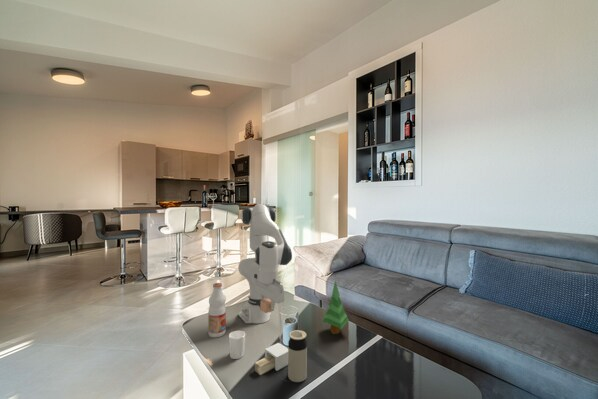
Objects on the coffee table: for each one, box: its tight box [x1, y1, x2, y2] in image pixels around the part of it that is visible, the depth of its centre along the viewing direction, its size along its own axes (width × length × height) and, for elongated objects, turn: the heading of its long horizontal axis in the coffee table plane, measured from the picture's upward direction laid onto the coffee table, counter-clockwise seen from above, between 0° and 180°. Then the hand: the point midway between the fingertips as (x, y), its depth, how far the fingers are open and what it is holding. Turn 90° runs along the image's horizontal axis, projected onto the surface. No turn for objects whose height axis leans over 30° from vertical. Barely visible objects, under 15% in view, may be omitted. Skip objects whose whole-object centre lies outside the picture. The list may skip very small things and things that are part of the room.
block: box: [260, 298, 275, 313], centre depth 121 cm, size 4×4×4 cm
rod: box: [254, 346, 288, 376], centre depth 119 cm, size 4×18×4 cm, turn 134°
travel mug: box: [287, 329, 308, 383], centre depth 111 cm, size 8×8×18 cm
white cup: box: [228, 330, 246, 360], centre depth 126 cm, size 8×8×10 cm
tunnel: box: [264, 342, 288, 371], centre depth 120 cm, size 9×8×6 cm
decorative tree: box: [321, 279, 350, 335], centre depth 149 cm, size 14×16×30 cm
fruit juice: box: [207, 282, 227, 338], centre depth 147 cm, size 9×9×28 cm
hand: (268, 306), depth 121 cm, fingers closed on block, 4 cm apart
